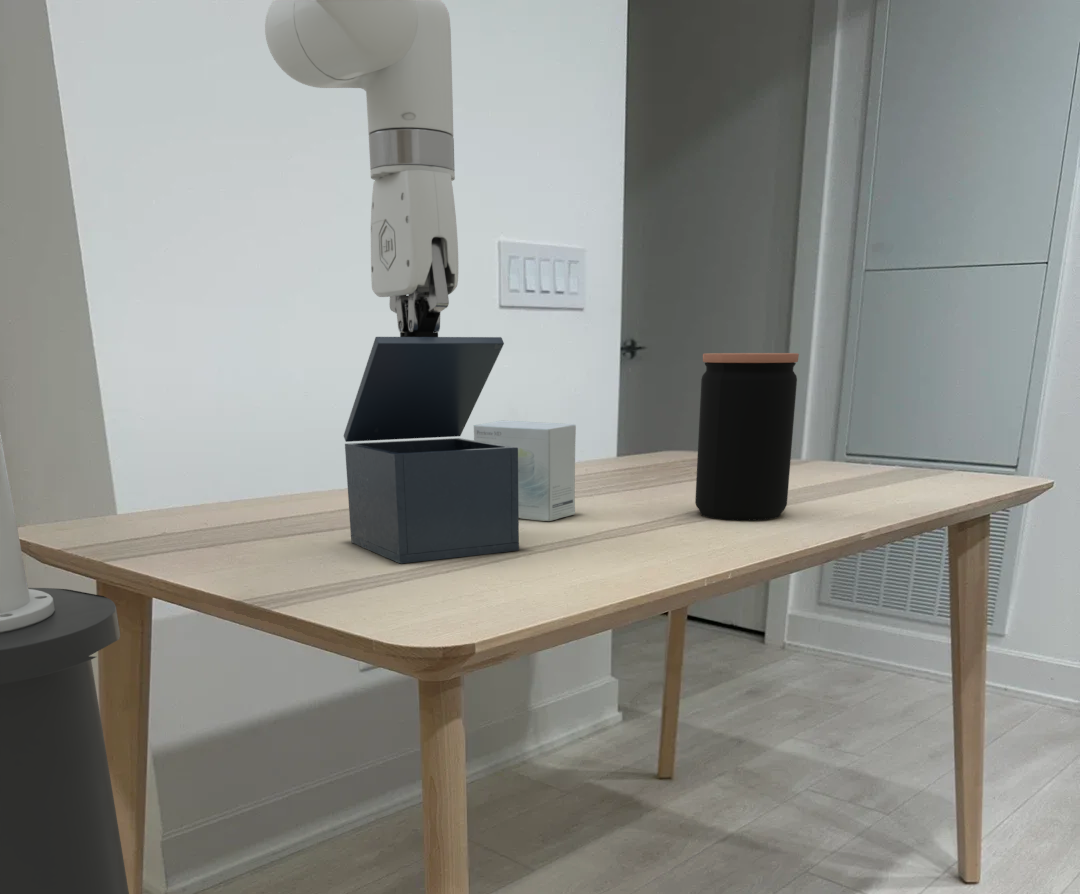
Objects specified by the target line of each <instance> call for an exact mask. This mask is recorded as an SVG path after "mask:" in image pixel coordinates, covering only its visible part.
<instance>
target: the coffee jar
mask: <svg viewBox="0 0 1080 894" xmlns="http://www.w3.org/2000/svg"><path fill="white" fill-rule="evenodd" d="M799 357H800V354H799V353H797V352H716V353H715V352H714V353H713V352H711V353H702V362H703V363H704V365H705V367H706V369H705V372H704V373H703V374H702V376H701V379H700V380H701V381H700V398H699V399H700V400H699V401H700V402H699V419H698V421H699V422H698V438H697V439H698V441H697V458H696V459H697V461H696V462H697V463H696V477H695V478H696V480H695V497H694V498H695V500H694V503H695V506H696V508H697V509H698V511H699V514H701V516H703V517H706V518H710V519H714V520H715V519H716V520H725V521H739V522H741V521H742V522H743V521H744V522H747V521H749V522H750V521H752V522H753V521H767V520H773V519H778V518H780V516H781V515H782V513H783V511H785V509H786V508H787V505H788V497H789V485H790V484H789V483H790V470H791V460H792V458H791V457H792V446H793V434H794V423H795V422H794V421H795V410H796V409H795V408H796V399H797V398H796V397H797V385H798V377H797V374H796V372H795V371H794V368H795V366H796V363H798V362H799Z"/></svg>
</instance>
